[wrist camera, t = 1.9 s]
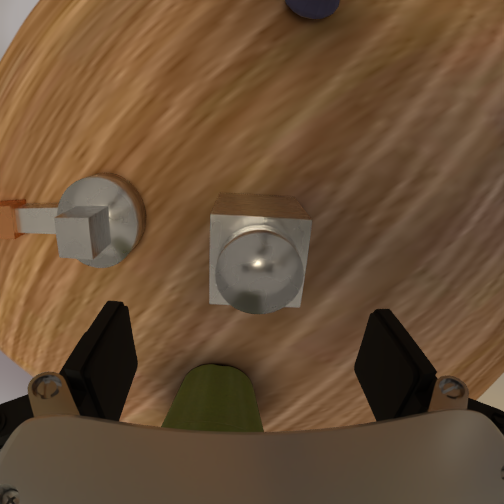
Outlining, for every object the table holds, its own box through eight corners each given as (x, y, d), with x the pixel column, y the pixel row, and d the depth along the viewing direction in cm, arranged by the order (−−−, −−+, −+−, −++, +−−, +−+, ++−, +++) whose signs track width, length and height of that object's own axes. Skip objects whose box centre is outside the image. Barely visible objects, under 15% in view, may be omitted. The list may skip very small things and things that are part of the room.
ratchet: (145, 171, 22) (115, 183, 16) (148, 258, 24) (124, 291, 19) (-24, 183, 21) (-61, 197, 15) (-15, 247, 23) (-48, 268, 18)
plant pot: (185, 324, 26) (159, 424, 16) (296, 370, 29) (314, 464, 18) (147, 396, 30) (123, 478, 20) (240, 429, 32) (240, 509, 22)
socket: (294, 197, 22) (318, 228, 15) (286, 264, 24) (304, 322, 17) (219, 192, 22) (206, 222, 15) (217, 261, 24) (206, 318, 17)
